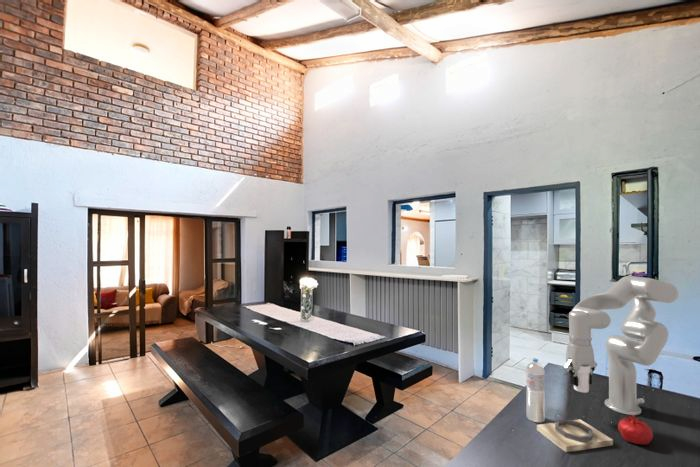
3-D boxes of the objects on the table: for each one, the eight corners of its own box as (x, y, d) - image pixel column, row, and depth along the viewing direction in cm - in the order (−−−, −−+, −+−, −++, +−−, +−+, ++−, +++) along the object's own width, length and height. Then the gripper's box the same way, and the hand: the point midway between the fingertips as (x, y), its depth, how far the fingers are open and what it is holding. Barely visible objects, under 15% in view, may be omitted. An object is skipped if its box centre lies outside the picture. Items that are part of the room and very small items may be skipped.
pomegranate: (655, 452, 121) (655, 426, 121) (619, 442, 126) (620, 418, 126) (649, 437, 129) (649, 413, 129) (616, 429, 135) (616, 405, 134)
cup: (589, 387, 145) (588, 361, 145) (592, 394, 139) (591, 367, 139) (570, 385, 148) (570, 359, 147) (573, 391, 142) (572, 365, 141)
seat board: (580, 424, 138) (580, 415, 138) (612, 445, 124) (612, 435, 124) (536, 429, 134) (536, 421, 134) (565, 452, 121) (565, 442, 121)
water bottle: (547, 424, 138) (547, 362, 138) (529, 422, 140) (528, 361, 140) (541, 415, 145) (541, 356, 145) (524, 413, 146) (523, 355, 146)
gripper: (589, 336, 148) (590, 377, 148) (555, 340, 145) (556, 382, 145) (605, 341, 141) (606, 385, 141) (569, 346, 138) (571, 390, 138)
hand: (581, 383), depth 143 cm, fingers closed on cup, 5 cm apart
